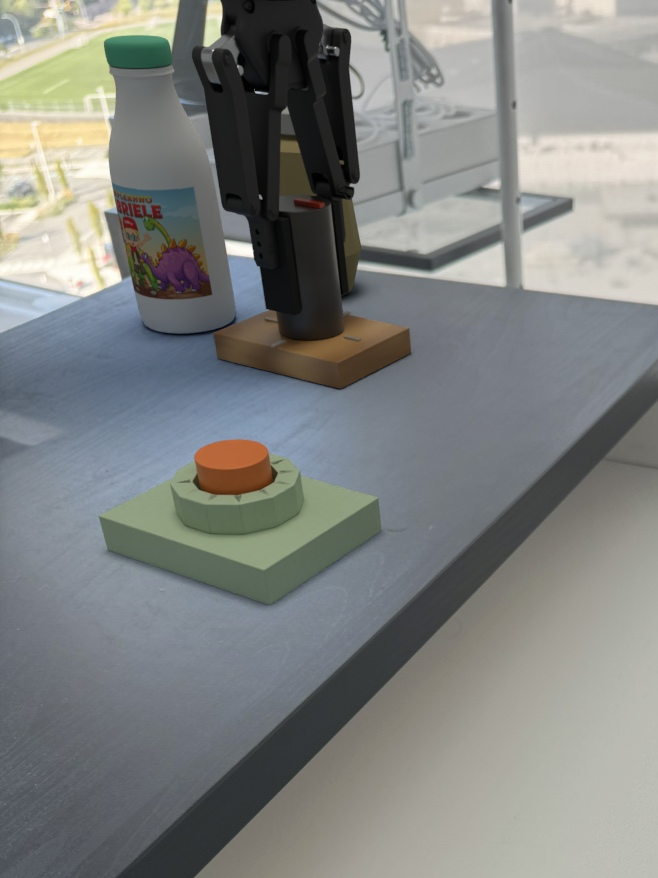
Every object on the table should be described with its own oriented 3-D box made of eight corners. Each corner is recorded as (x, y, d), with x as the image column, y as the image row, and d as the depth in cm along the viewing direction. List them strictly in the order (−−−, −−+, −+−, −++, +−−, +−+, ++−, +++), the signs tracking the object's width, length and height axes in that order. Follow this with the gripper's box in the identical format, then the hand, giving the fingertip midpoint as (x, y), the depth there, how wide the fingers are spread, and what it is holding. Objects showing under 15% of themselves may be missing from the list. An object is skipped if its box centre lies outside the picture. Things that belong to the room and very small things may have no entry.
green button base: (107, 550, 67) (89, 485, 64) (227, 485, 74) (216, 424, 71) (270, 606, 62) (258, 538, 60) (382, 531, 69) (375, 467, 67)
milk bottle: (180, 301, 101) (126, 28, 88) (255, 313, 99) (212, 35, 86) (121, 328, 95) (55, 40, 83) (200, 341, 93) (145, 49, 81)
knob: (265, 332, 89) (245, 200, 83) (307, 314, 93) (290, 186, 87) (316, 344, 88) (299, 210, 82) (357, 326, 91) (344, 196, 85)
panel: (216, 359, 90) (211, 330, 89) (293, 325, 97) (289, 298, 95) (339, 390, 86) (336, 360, 85) (412, 353, 92) (410, 325, 91)
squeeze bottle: (256, 299, 102) (219, 59, 90) (300, 273, 108) (271, 45, 96) (340, 310, 100) (313, 66, 89) (380, 283, 106) (360, 51, 95)
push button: (184, 488, 65) (178, 458, 64) (233, 462, 68) (228, 433, 67) (239, 505, 64) (234, 475, 62) (287, 478, 66) (283, 448, 65)
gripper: (204, -69, 66) (267, 344, 81) (392, -82, 79) (417, 278, 94) (108, -76, 69) (186, 325, 84) (305, -88, 81) (342, 263, 96)
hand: (308, 300), depth 89 cm, fingers closed on knob, 5 cm apart
